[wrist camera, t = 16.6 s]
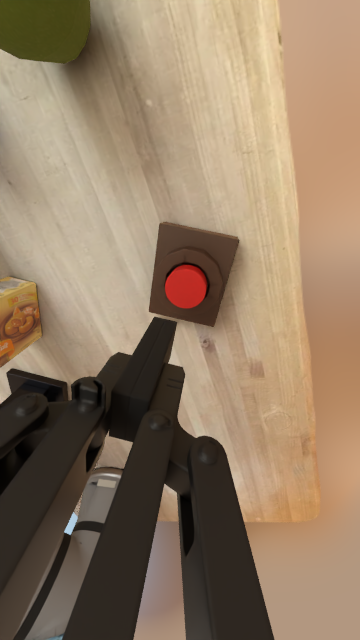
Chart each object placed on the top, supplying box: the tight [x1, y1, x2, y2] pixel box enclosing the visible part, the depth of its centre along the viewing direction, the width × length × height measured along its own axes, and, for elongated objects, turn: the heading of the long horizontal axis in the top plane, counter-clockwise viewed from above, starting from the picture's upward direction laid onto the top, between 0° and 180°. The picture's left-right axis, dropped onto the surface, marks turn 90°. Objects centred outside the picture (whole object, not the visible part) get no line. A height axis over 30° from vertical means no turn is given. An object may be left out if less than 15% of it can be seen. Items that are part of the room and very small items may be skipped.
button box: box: [149, 222, 239, 327], centre depth 25 cm, size 10×8×4 cm
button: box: [165, 265, 207, 308], centre depth 22 cm, size 4×4×2 cm
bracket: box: [0, 369, 68, 408], centre depth 35 cm, size 10×8×13 cm
